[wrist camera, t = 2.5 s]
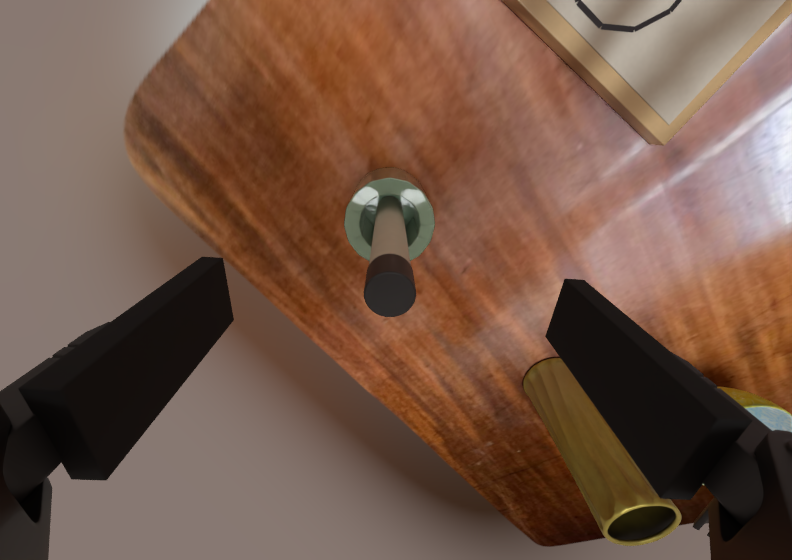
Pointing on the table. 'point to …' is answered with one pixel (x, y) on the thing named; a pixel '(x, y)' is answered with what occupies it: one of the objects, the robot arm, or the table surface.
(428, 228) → the pencil pot
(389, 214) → the pen
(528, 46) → the table surface
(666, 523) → the vase
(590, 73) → the sketch board
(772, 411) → the bowl
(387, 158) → the table surface
